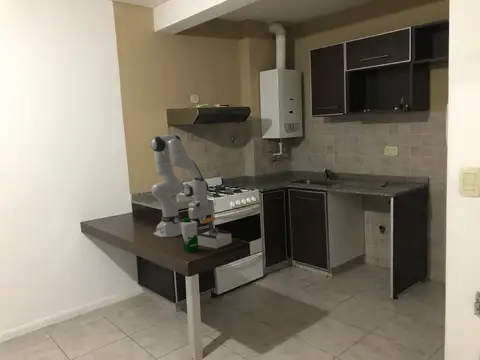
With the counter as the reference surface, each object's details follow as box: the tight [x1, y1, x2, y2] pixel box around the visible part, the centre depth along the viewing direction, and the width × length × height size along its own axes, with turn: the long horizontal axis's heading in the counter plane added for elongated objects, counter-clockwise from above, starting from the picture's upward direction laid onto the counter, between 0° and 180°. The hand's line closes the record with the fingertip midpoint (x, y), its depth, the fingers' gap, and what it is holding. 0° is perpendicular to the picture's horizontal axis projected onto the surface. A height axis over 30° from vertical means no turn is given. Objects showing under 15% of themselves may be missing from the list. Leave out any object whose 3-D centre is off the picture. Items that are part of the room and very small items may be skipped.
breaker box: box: [198, 227, 233, 250], centre depth 259 cm, size 18×14×10 cm
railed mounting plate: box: [197, 229, 231, 239], centre depth 258 cm, size 16×13×1 cm
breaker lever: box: [201, 215, 216, 234], centre depth 259 cm, size 2×10×10 cm, turn 138°
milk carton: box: [180, 217, 200, 254], centre depth 246 cm, size 9×9×20 cm
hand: (202, 223), depth 264 cm, fingers closed
